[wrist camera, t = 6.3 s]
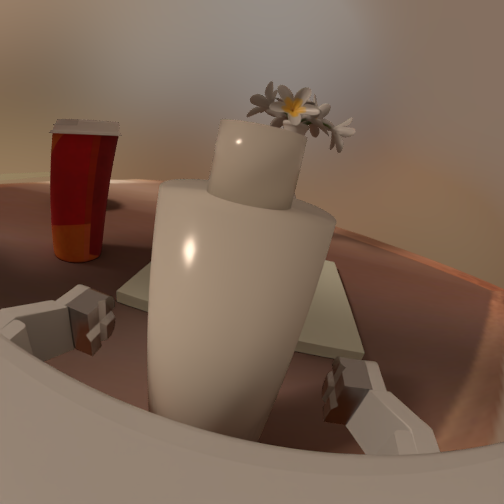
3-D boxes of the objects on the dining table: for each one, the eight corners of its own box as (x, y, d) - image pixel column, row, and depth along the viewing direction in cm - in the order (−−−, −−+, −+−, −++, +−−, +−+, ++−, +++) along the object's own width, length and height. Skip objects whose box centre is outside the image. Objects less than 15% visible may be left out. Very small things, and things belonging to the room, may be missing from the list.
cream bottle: (136, 465, 10) (138, 102, 5) (168, 397, 15) (203, 122, 10) (242, 496, 10) (378, 148, 5) (255, 421, 15) (338, 151, 10)
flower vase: (335, 247, 51) (370, 108, 42) (236, 239, 43) (272, 69, 35) (299, 223, 62) (327, 108, 53) (214, 214, 54) (242, 81, 46)
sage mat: (116, 301, 22) (116, 289, 22) (191, 235, 41) (192, 227, 41) (359, 362, 21) (365, 351, 21) (332, 269, 40) (334, 261, 40)
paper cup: (90, 235, 33) (101, 121, 29) (123, 257, 30) (138, 123, 25) (36, 246, 27) (41, 119, 22) (60, 274, 23) (66, 118, 19)
